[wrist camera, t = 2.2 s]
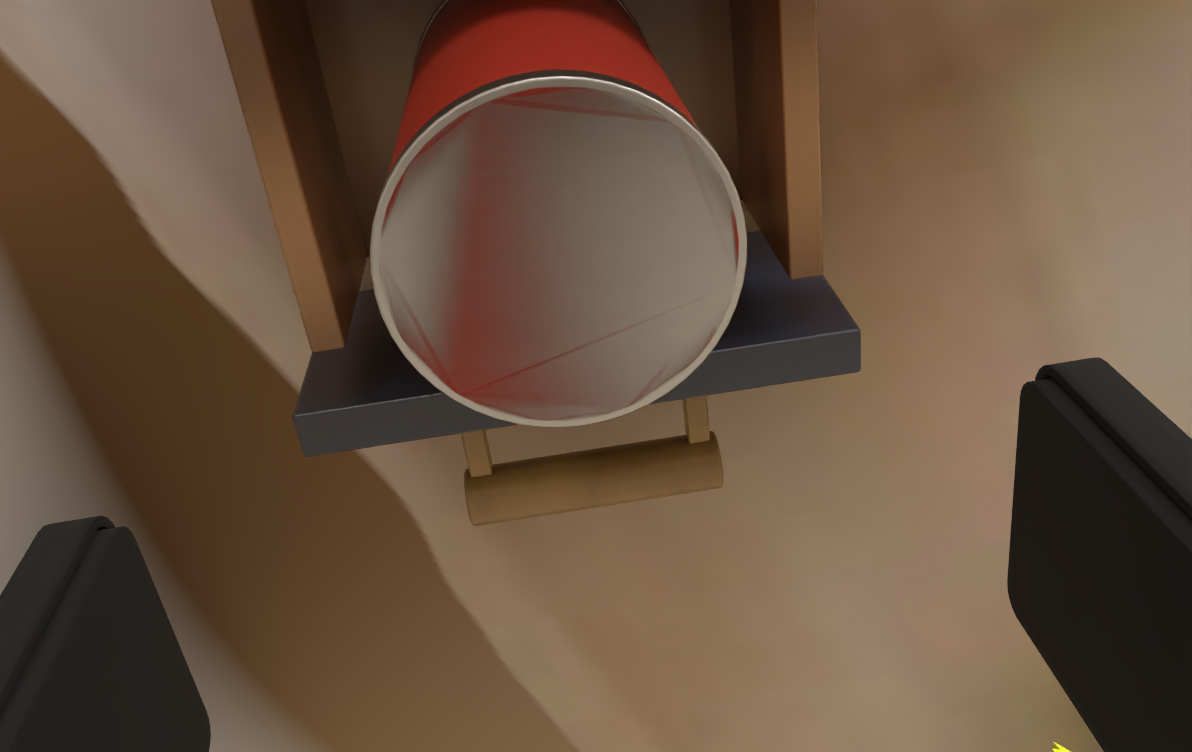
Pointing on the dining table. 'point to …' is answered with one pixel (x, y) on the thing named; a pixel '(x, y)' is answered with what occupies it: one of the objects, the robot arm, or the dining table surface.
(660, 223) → the tin can
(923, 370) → the dining table surface
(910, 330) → the dining table surface
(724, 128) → the drawer
